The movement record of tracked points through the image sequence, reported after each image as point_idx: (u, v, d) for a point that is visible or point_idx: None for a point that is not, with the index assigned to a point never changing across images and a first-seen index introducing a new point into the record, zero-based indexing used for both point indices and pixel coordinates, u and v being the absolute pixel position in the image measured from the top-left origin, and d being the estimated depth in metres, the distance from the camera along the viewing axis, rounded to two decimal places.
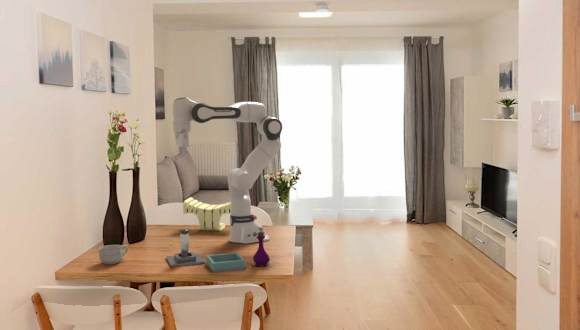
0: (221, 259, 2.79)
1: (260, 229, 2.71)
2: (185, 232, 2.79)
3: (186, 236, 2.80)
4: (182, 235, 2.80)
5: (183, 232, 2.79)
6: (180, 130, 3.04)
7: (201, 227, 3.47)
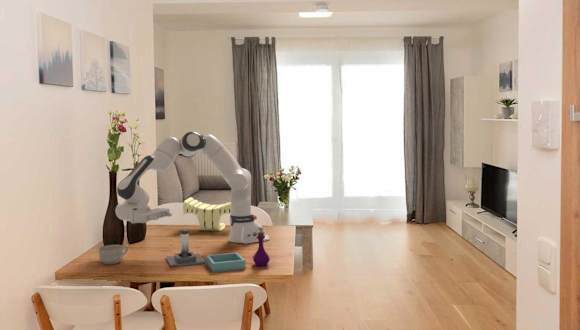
0: (221, 259, 2.79)
1: (260, 229, 2.71)
2: (185, 232, 2.79)
3: (186, 236, 2.80)
4: (182, 235, 2.80)
5: (183, 232, 2.79)
6: None
7: (201, 227, 3.47)
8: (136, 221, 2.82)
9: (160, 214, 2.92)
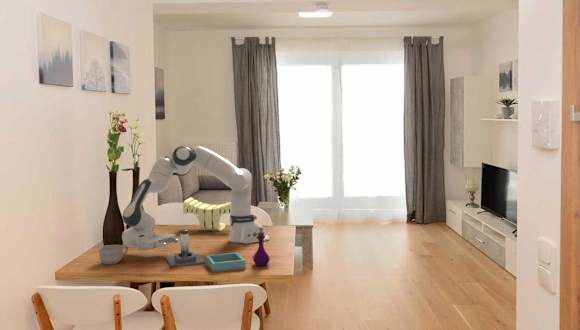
0: (221, 259, 2.79)
1: (260, 229, 2.71)
2: (185, 232, 2.79)
3: (186, 236, 2.80)
4: (182, 235, 2.80)
5: (183, 232, 2.79)
6: None
7: (201, 227, 3.47)
8: (143, 248, 2.81)
9: (167, 240, 2.91)
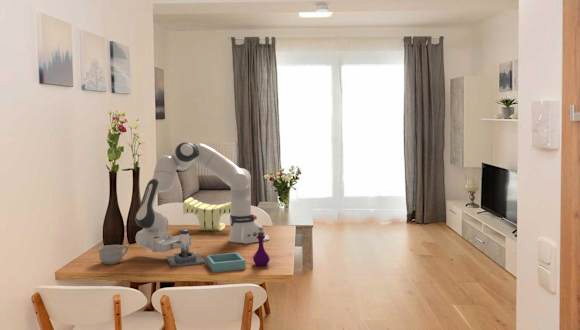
0: (221, 259, 2.79)
1: (260, 229, 2.71)
2: (185, 232, 2.79)
3: (186, 236, 2.80)
4: (182, 235, 2.80)
5: (183, 232, 2.79)
6: None
7: (201, 227, 3.47)
8: (158, 250, 2.77)
9: None
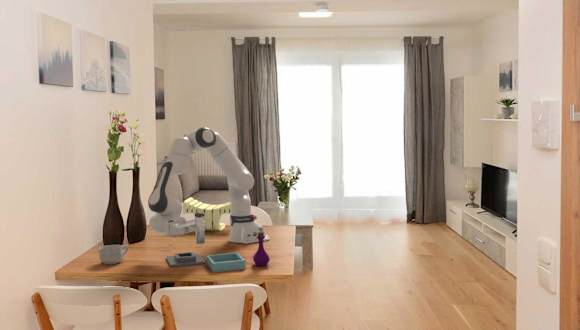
0: (221, 259, 2.79)
1: (260, 229, 2.71)
2: (200, 215, 2.73)
3: (201, 219, 2.73)
4: (197, 218, 2.73)
5: (198, 215, 2.72)
6: None
7: None
8: (173, 234, 2.71)
9: None
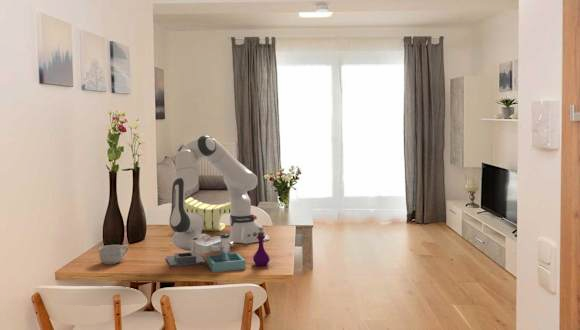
0: None
1: (260, 229, 2.71)
2: (226, 236, 2.70)
3: (227, 240, 2.70)
4: (223, 239, 2.70)
5: (224, 236, 2.69)
6: None
7: None
8: (198, 252, 2.68)
9: None
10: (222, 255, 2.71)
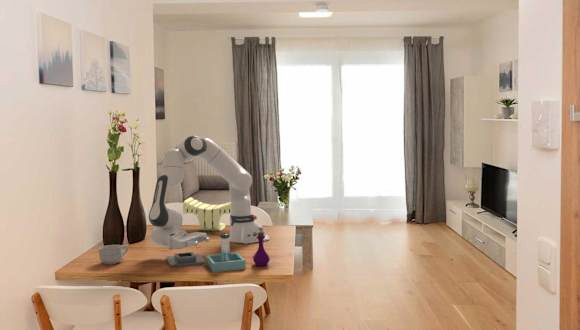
0: None
1: (260, 229, 2.71)
2: (226, 236, 2.69)
3: (227, 240, 2.70)
4: (223, 239, 2.70)
5: (224, 236, 2.69)
6: None
7: (201, 227, 3.47)
8: (174, 247, 2.74)
9: (198, 239, 2.84)
10: (222, 255, 2.71)
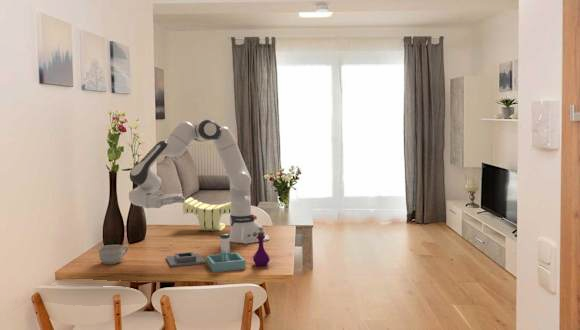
0: None
1: (260, 229, 2.71)
2: (226, 236, 2.69)
3: (227, 240, 2.70)
4: (223, 239, 2.70)
5: (224, 236, 2.69)
6: None
7: (201, 227, 3.47)
8: (150, 205, 2.82)
9: (174, 199, 2.92)
10: (222, 255, 2.71)
